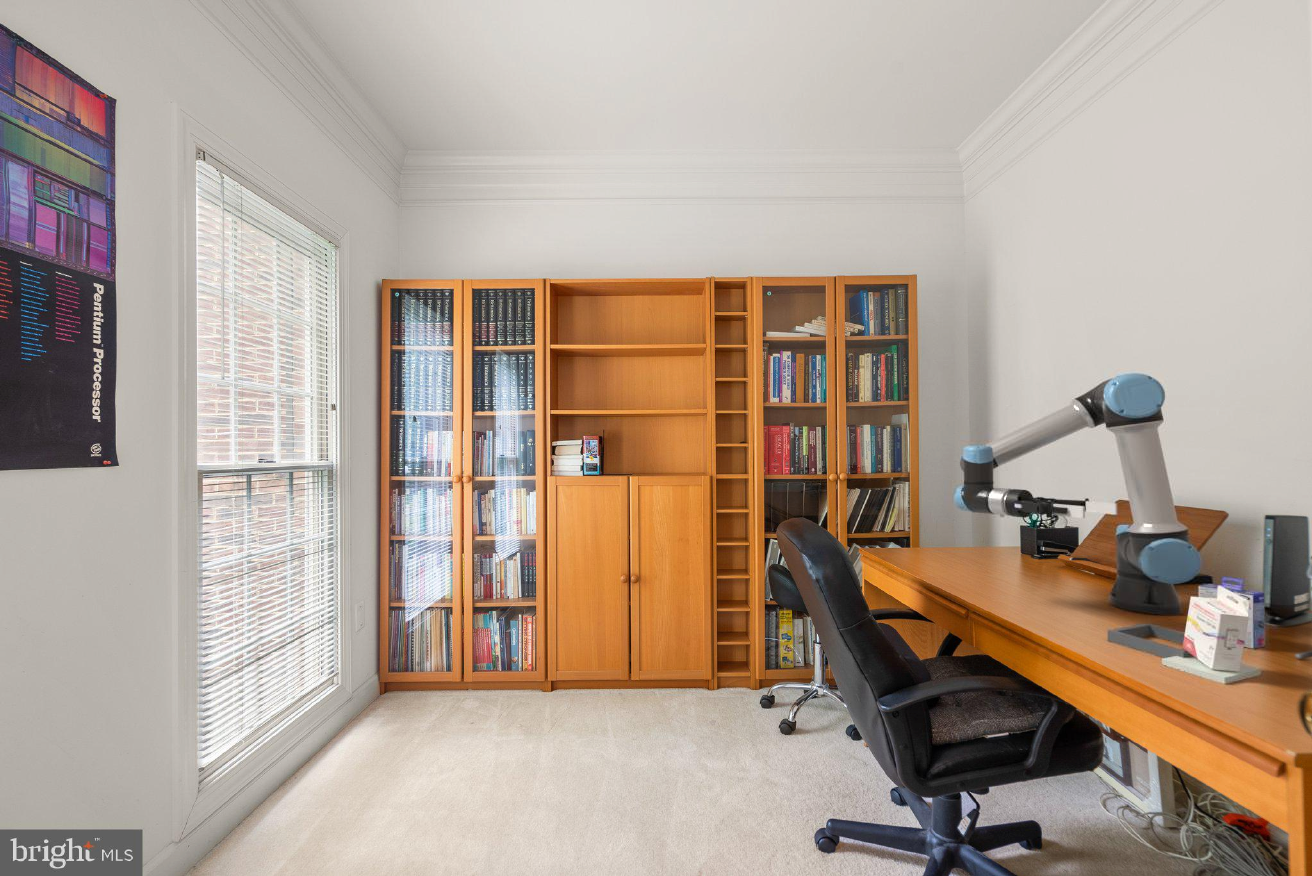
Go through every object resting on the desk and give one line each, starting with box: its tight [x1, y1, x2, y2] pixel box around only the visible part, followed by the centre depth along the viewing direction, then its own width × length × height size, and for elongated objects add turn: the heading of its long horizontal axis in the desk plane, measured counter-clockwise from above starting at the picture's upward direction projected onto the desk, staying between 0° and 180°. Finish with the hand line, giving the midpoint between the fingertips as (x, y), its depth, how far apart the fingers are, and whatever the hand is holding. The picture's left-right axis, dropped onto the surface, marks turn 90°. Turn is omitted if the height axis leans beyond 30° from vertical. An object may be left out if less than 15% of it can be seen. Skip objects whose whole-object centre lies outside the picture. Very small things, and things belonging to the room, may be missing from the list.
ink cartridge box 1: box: [1197, 576, 1266, 650], centre depth 129 cm, size 10×6×14 cm, turn 23°
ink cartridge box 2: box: [1182, 585, 1250, 672], centre depth 112 cm, size 9×5×15 cm, turn 168°
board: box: [1161, 656, 1262, 685], centre depth 113 cm, size 12×10×1 cm
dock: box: [1106, 622, 1193, 659], centre depth 125 cm, size 14×14×2 cm
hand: (1100, 510), depth 133 cm, fingers open, 13 cm apart
